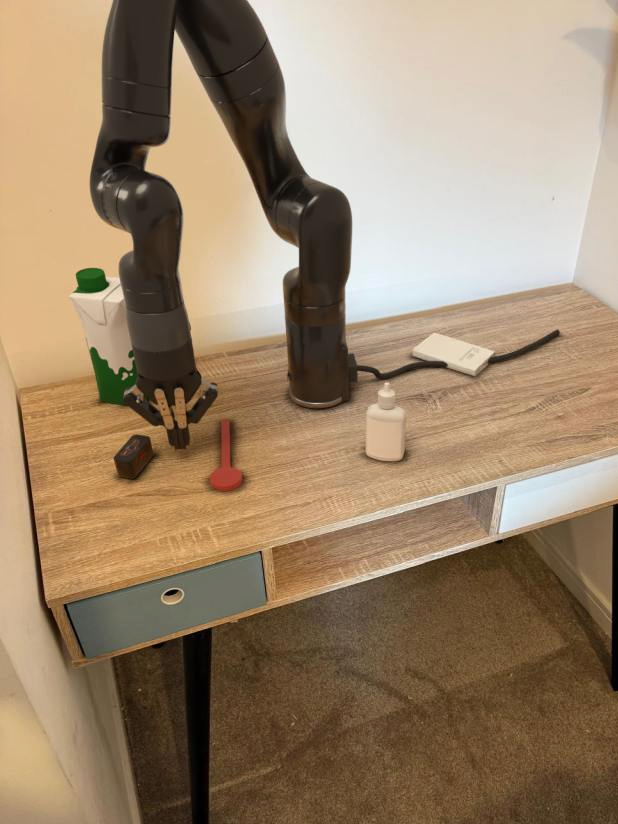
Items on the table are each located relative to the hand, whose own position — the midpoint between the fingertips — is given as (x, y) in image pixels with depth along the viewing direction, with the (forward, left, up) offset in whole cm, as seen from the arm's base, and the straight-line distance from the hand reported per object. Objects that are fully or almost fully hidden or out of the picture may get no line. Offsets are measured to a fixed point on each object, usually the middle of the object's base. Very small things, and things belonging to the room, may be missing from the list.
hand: (181, 446), depth 105 cm
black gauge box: (+7, 0, -3) cm, 7 cm away
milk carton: (+9, -19, -3) cm, 21 cm away
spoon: (-6, +1, -2) cm, 7 cm away
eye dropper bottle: (-29, +3, -3) cm, 29 cm away
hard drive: (-46, -24, -3) cm, 52 cm away
